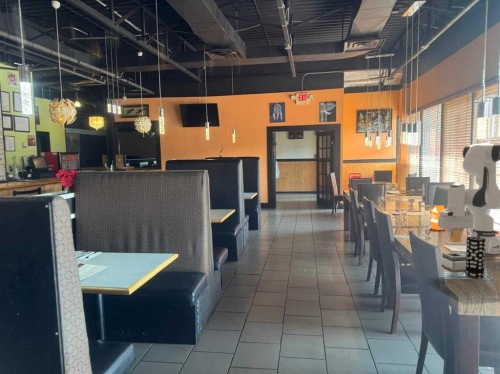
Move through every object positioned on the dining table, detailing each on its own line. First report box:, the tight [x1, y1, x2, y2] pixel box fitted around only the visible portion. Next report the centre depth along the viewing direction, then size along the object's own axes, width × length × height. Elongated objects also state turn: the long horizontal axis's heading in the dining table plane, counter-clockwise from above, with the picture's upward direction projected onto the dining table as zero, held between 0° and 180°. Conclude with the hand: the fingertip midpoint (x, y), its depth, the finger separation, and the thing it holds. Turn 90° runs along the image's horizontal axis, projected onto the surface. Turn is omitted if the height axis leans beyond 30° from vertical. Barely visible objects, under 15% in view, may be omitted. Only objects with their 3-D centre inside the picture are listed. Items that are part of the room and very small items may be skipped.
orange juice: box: [430, 204, 446, 231], centre depth 320 cm, size 8×9×20 cm
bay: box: [440, 252, 466, 272], centre depth 215 cm, size 18×14×7 cm
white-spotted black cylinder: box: [465, 236, 486, 279], centre depth 197 cm, size 8×8×20 cm
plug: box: [448, 229, 462, 243], centre depth 213 cm, size 4×4×7 cm
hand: (455, 236), depth 213 cm, fingers closed on plug, 4 cm apart
